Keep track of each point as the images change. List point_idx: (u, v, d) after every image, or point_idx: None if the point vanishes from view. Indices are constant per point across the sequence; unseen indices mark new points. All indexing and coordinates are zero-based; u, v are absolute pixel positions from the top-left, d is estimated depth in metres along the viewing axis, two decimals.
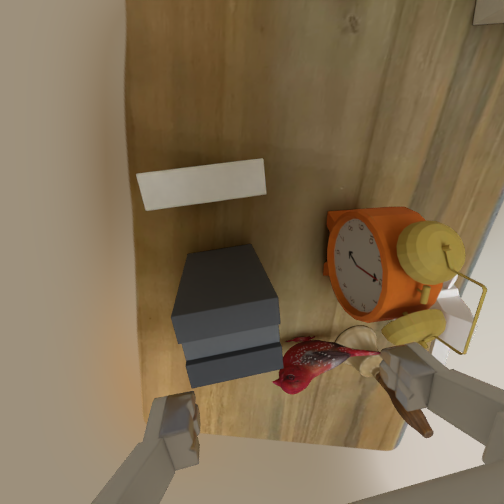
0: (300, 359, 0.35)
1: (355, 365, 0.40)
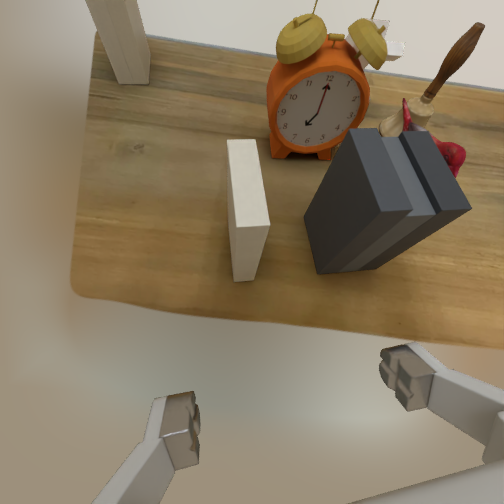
0: None
1: (422, 122, 0.41)
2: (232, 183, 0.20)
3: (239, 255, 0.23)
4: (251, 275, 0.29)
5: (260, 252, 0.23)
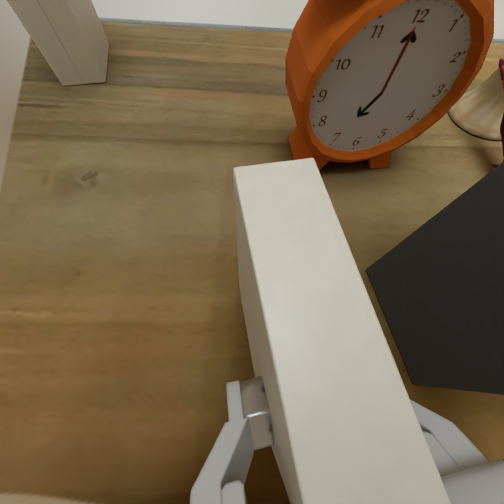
0: None
1: None
2: (269, 331, 0.05)
3: None
4: None
5: None
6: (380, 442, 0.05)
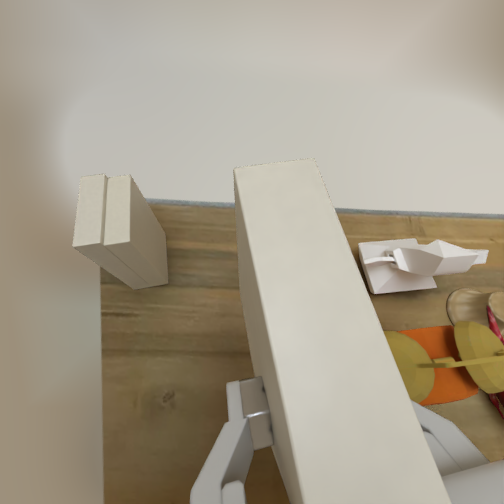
0: None
1: None
2: (270, 331, 0.05)
3: None
4: None
5: None
6: (381, 443, 0.05)
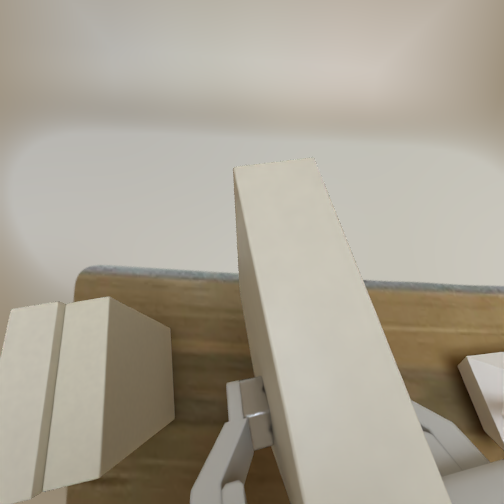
0: None
1: None
2: (270, 330, 0.05)
3: None
4: None
5: None
6: (381, 442, 0.05)
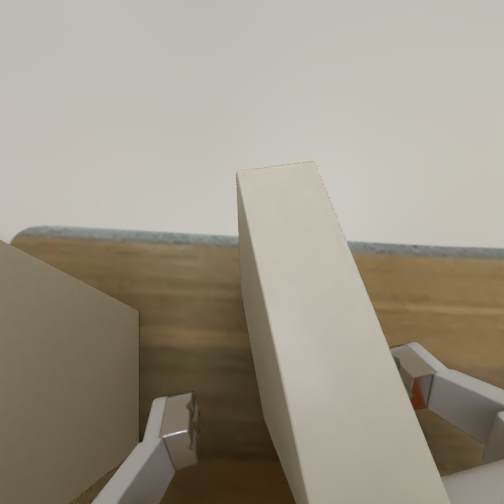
0: None
1: None
2: (273, 329, 0.06)
3: None
4: None
5: None
6: (379, 435, 0.05)
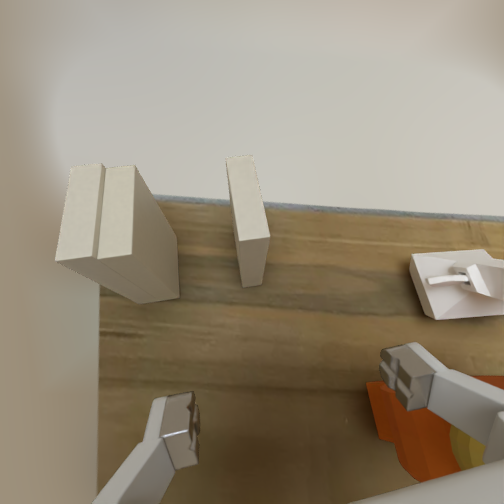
0: None
1: None
2: (233, 199, 0.21)
3: (244, 264, 0.25)
4: (258, 281, 0.31)
5: (264, 260, 0.25)
6: (255, 219, 0.20)
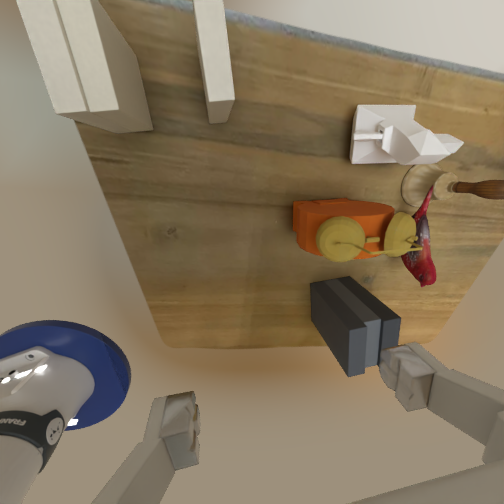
0: (410, 260, 0.44)
1: None
2: (201, 50, 0.22)
3: (212, 112, 0.29)
4: (224, 120, 0.35)
5: (229, 110, 0.29)
6: (223, 79, 0.23)
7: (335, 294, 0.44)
